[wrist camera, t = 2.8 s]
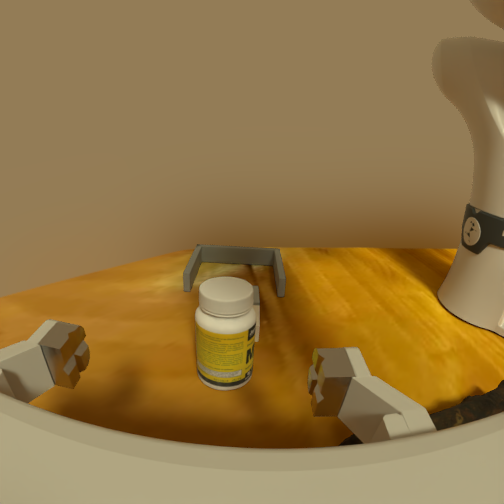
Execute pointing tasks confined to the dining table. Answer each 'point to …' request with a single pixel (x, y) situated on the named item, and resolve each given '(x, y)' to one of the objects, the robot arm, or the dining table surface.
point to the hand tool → (461, 412)
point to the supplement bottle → (225, 332)
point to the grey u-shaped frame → (235, 261)
